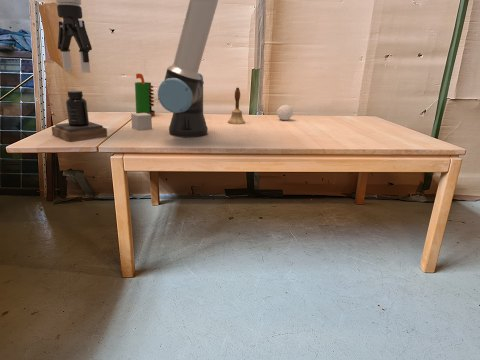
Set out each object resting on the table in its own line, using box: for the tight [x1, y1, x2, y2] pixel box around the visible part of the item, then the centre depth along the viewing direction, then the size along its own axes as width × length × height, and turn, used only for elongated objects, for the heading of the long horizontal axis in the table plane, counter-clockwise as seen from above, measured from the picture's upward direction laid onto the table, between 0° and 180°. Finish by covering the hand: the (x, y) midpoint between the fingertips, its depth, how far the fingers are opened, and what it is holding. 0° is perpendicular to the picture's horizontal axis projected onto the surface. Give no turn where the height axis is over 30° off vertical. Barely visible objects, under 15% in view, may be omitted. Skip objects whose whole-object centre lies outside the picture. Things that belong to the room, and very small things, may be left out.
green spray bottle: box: [134, 73, 156, 118], centre depth 179 cm, size 10×9×20 cm
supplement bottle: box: [65, 90, 90, 127], centre depth 133 cm, size 7×7×12 cm
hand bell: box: [227, 87, 246, 125], centre depth 170 cm, size 8×8×16 cm
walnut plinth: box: [51, 121, 108, 143], centre depth 135 cm, size 14×14×4 cm
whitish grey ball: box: [276, 104, 294, 121], centre depth 182 cm, size 8×8×8 cm
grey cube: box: [130, 112, 153, 131], centre depth 151 cm, size 6×6×6 cm
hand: (76, 71), depth 130 cm, fingers open, 13 cm apart
